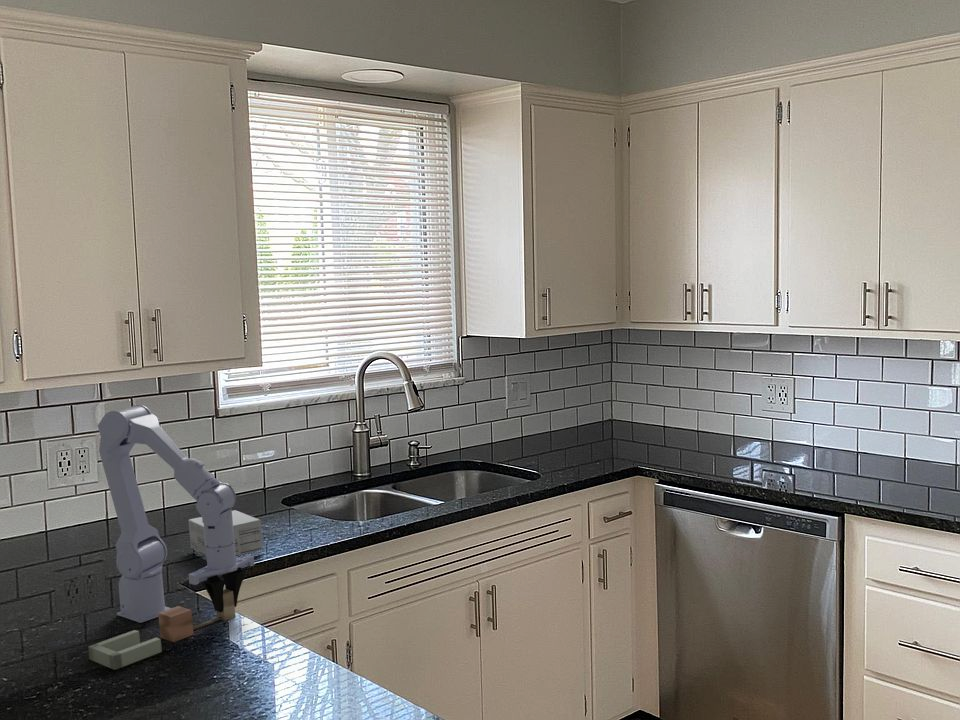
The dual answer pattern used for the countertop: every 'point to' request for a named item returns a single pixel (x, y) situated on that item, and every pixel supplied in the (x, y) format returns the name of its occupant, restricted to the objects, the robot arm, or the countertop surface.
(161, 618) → the corded block
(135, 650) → the pale green u-shape
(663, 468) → the countertop surface
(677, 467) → the countertop surface
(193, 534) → the supplement box
